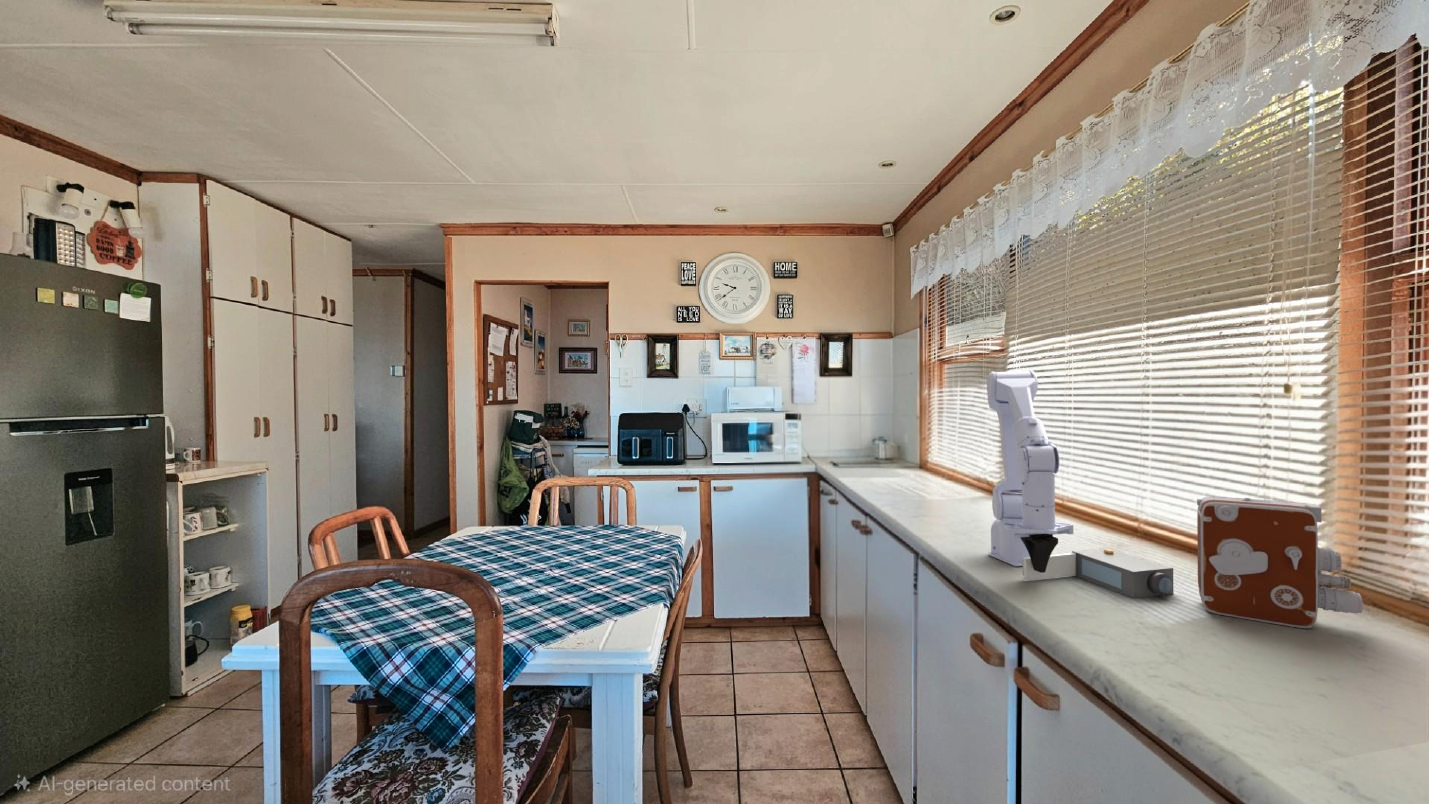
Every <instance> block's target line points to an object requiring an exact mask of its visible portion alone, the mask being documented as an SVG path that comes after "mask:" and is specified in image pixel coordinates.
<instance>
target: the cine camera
mask: <svg viewBox="0 0 1429 804" xmlns="http://www.w3.org/2000/svg"><path fill="white" fill-rule="evenodd" d="M1196 504H1197V516H1196V518H1197V519H1196V520H1197V525H1196V526H1197V527H1196V528H1197V531H1196V532H1197V585H1198V593H1199V594H1198V595H1199V596H1200V600H1201V603H1202V606H1203V608H1204V609H1205V610H1206V611H1207V612H1209V613H1212V614H1215V615H1221V616H1224V617H1225V616H1226V617H1231V618H1237V619H1243V620H1250V621H1256V622H1261V623H1267V624H1273V625H1274V624H1275V625H1279V626H1287V627H1292V628H1297V629H1298V628H1299V629H1310V628H1313V627H1315V625H1316V623H1317V621H1318V620H1317V618H1318V612H1319V611H1318V610H1319V609H1322V610H1323V611H1332V612H1336V613H1346V614H1348V613H1350V614H1355V615H1356V614H1362V613H1363V609H1364V603H1363V598H1362V596H1361V594H1360V593H1359V592H1355V591H1351V590H1347V589H1351V586H1352V583H1351V578H1350V577H1349V576H1342V575H1339V576H1336V575H1331V574H1333V573H1334V572H1335V571H1341V570H1342V565H1343V564H1342V562H1343V561H1342V557H1341V556H1342V555H1341V554H1340V552H1339V551H1335V550H1333V549H1332V547H1326V548H1325V547H1319V546H1318V545H1319V543H1318V541H1319V540H1318V539H1319V538H1318V537H1319V535H1318V534H1319V530H1318V528H1319V527H1318V523H1322V519H1323V518H1322V507H1321V506H1319V505H1318V504H1315V503H1304V502H1292V501H1281V500H1272V499H1271V500H1268V499H1254V498H1253V499H1252V498H1250V497H1244V498H1243V497H1242V498H1241V497H1227V496H1211V495H1210V496H1204V497H1202V498H1201V499H1200V498H1197V499H1196ZM1321 571H1323V572H1324V571H1325V572H1328V573H1331V574H1326V573H1325V574H1324V573H1320V572H1321ZM1320 586H1321V587H1320ZM1331 586H1333V587H1331ZM1337 587H1340V589H1339V588H1337Z"/></svg>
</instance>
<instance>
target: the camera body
mask: <svg viewBox="0 0 1429 804" xmlns="http://www.w3.org/2000/svg"><path fill="white" fill-rule="evenodd" d="M1071 553H1076V576H1075V577H1078V578H1081V579H1083V580H1086V581H1087V582H1088V581H1089V582H1091V583H1092V584H1093V583H1094V584H1096V585H1099V586H1101V587H1103V588H1106V589H1108V590H1111V591H1114V592H1116V593H1118V594H1119V593H1120V594H1122V595H1124V596H1127V597H1130V598H1132V599H1141V598H1149V597H1158V596H1162V597H1163V596H1164V597H1165V596H1169V595H1174V567H1172V566H1168V565H1166V564H1161V563H1158V562H1155V561H1152V560H1148V559H1145V558H1142V557H1140V556H1136V555H1132V554H1129V553H1126V552H1123V551H1120V550H1116V549H1113V548H1109V547H1105V548H1104V547H1103V548H1092V549H1080V550H1079V549H1078V550H1072V551H1071Z"/></svg>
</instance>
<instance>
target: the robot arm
mask: <svg viewBox="0 0 1429 804" xmlns="http://www.w3.org/2000/svg"><path fill="white" fill-rule="evenodd" d="M1038 386H1039V384H1038V376H1037V374H1036V373H1035V371H1033V370H1028V371H1027V370H1025V371H1024V370H1023V371H998V372H996V371H990V372H989V374H988V375H987V378H986V393H987V394H986V395H987V403H988V405H989V406H988V407H989V409H991V410H993V411H995V412H996V413H997V417H998V422H999V423H998V424H999V432H1000V433H999V434H1000V435H999V436H1000V443H1001V456H1002V466H1003V467H1002V468H1003V477H1004V479H1003V480H1001V481H1000V482H998V483H997V484H996V485H995V486H994V487H993V489H992V501H991V503H992V504H991V506H992V508H991V509H992V513H993V516H994V518H995V520H994V521H993V522H992V524H991V528H990V551H991V552H988V553H987V555H988V556H991V557H993V558H996V559H998V560H1000V561H1002V562H1004V563H1007V564H1009V565H1012V566H1014V567H1023V558H1026V557H1030V558H1031V562H1032V565H1033V569H1034V570H1035V571H1038V572H1040V573H1044V572H1045V571H1046V567H1047V564H1048V561H1049V558H1050V555H1052V553H1053V551H1054V550H1055V548H1056V546H1057V545H1058V544H1059V538H1058V537H1055V536H1054V535H1064V534H1066V535H1074V524H1072V523H1068V522H1056V495H1055V494H1056V489H1055V488H1056V487H1055V486H1056V485H1055V483H1056V482H1055V481H1056V480H1055V474H1057V473H1058V472H1059V468H1060V454H1059V451H1058V448H1057V446H1056V445H1055V444H1053V442H1052V441H1049V438H1048V435H1047V431H1046V429H1045V426H1044V423H1043V421H1042V420H1041V419H1040V418H1038V417H1036V416H1035V415H1036V414H1035V410H1034V405H1033V402H1034V400H1035V398H1036V397H1035V396H1036V394H1037V392H1038V389H1039V388H1038Z"/></svg>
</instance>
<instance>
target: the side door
mask: <svg viewBox="0 0 1429 804" xmlns="http://www.w3.org/2000/svg"><path fill="white" fill-rule="evenodd" d="M1072 576H1075V577H1077V576H1076V553H1072V552H1068V553H1060V554H1059V553H1058V554H1051V555H1050V558H1049V561H1048V564H1047V567H1046V571H1045V572H1044V573H1040V572H1038V571H1035V570H1034V569H1033V565H1032V562H1031V558H1030V557H1026V558H1023V566H1022V577H1023V580H1024V581H1026V582H1027V581H1028V582H1029V581H1038V580H1046V579H1055V578H1062V577H1063V578H1064V577H1072Z"/></svg>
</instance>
